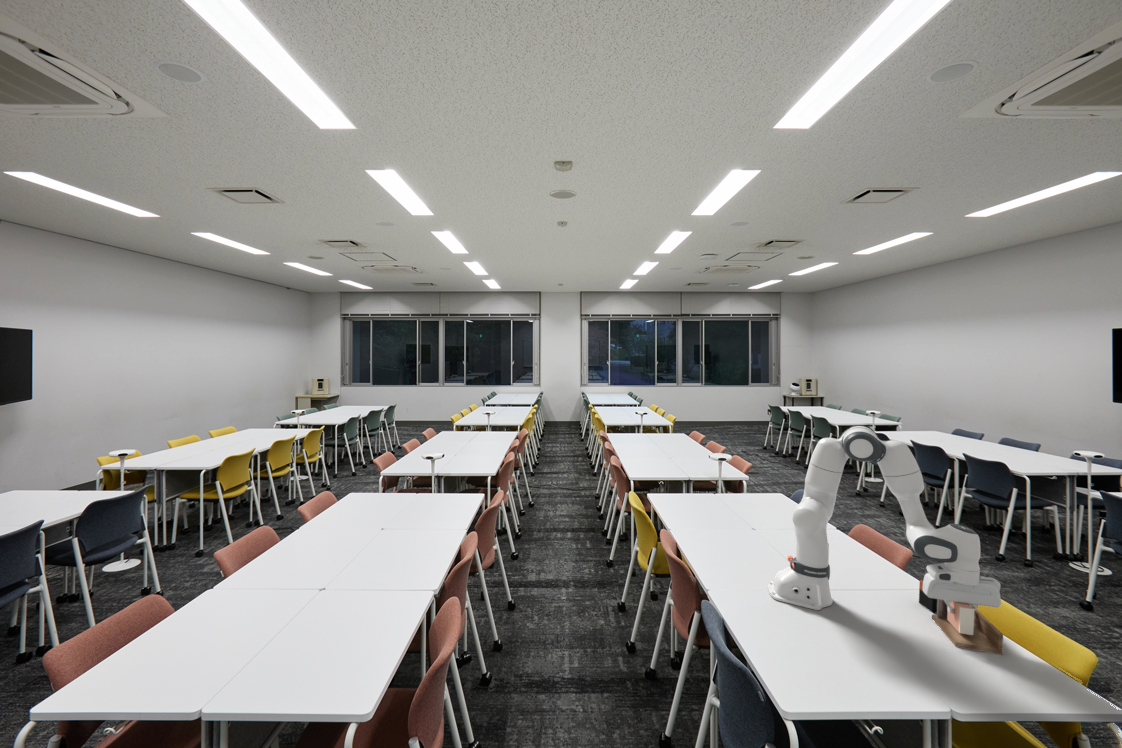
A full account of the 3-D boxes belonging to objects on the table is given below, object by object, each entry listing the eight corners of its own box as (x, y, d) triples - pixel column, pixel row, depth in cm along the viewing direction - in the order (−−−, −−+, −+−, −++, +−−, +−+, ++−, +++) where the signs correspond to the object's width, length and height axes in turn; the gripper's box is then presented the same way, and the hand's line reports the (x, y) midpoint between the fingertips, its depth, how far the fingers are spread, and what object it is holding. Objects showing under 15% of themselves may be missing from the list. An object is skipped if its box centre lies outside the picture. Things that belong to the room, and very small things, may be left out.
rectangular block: (959, 633, 145) (960, 606, 145) (947, 619, 153) (947, 594, 153) (973, 635, 144) (974, 609, 144) (959, 621, 152) (960, 596, 151)
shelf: (955, 646, 143) (956, 627, 142) (931, 618, 158) (932, 600, 157) (1002, 654, 139) (1003, 634, 138) (973, 625, 154) (974, 606, 154)
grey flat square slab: (938, 618, 155) (938, 596, 155) (936, 616, 156) (937, 594, 156) (966, 622, 153) (966, 600, 153) (964, 620, 154) (965, 598, 153)
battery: (929, 602, 168) (930, 577, 167) (944, 613, 161) (945, 586, 160) (918, 602, 168) (918, 577, 167) (932, 613, 161) (933, 586, 161)
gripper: (994, 574, 147) (993, 614, 148) (921, 565, 154) (919, 603, 155) (1006, 583, 141) (1004, 625, 142) (929, 573, 148) (928, 613, 149)
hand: (959, 613), depth 148 cm, fingers closed on rectangular block, 3 cm apart
